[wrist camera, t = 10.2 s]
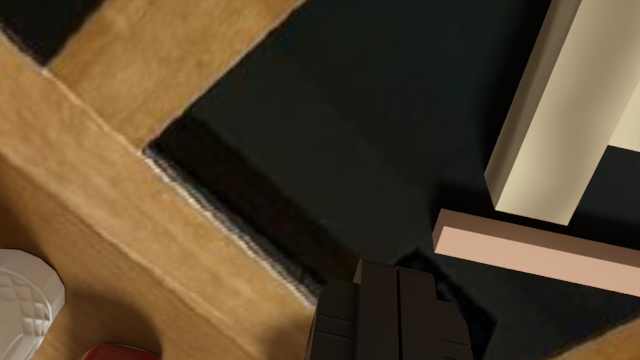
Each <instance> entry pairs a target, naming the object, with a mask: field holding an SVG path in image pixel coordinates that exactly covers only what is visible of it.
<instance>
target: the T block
mask: <svg viewBox="0 0 640 360" xmlns="http://www.w3.org/2000/svg"><path fill="white" fill-rule="evenodd" d="M607 145H612V146H617V147H621V148H626V149H630V150H635V151H639V152H640V0H552V2H551V4H550V7H549V9H548V12H547V14H546V17H545V20H544V22H543V25H542V27H541V30H540V32H539V35H538V37H537V40H536V43H535V45H534V48H533V50H532V53H531V55H530V58H529V61H528V63H527V66H526V68H525V71H524V73H523V76H522V79H521V81H520V84H519V86H518V89H517V91H516V94H515V97H514V99H513V102H512V104H511V107H510V109H509V112H508V115H507V117H506V120H505V122H504V125H503V127H502V130H501V133H500V135H499V138H498V140H497V143H496V145H495V148H494V151H493V153H492V156H491V158H490V161H489V163H488V166H487V168H486V171H485V174H484V176H485V179H486V182H487V186H488V189H489V192H490V195H491V198H492V201H493V205H494V208H495V210H499V211H503V212H508V213H512V214H517V215H521V216H526V217H530V218H535V219H540V220H544V221H549V222H553V223H558V224H562V225H568V223H569V221H570V219H571V217H572V215H573V213H574V211H575V209H576V207H577V205H578V203H579V201H580V199H581V197H582V195H583V193H584V191H585V189H586V187H587V185H588V183H589V181H590V179H591V177H592V175H593V173H594V171H595V169H596V167H597V165H598V163H599V161H600V159H601V157H602V155H603V153H604V151H605V149H606V147H607Z"/></svg>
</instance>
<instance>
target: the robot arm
mask: <svg viewBox="0 0 640 360" xmlns="http://www.w3.org/2000/svg"><path fill="white" fill-rule="evenodd" d="M470 346H471V344H470V339H469V333H468V327H467V323H466V322H465V320H464V319H463V317H462V316H461V314H460V313H459V311H458V310H457V308H456V307H455V305H454V304H453V303H448V302H443V301H439V300H436V292H435V283H434V277H433V274H431V273H426V272H422V271H417V270H412V269H407V268H403V267H395V266H393V265H388V264H383V263H379V262H374V261H369V260H364V259H360V261H359V264H358V267H357V271H356V274H355V278H354V281H353V282H348V281H344V280H339V279H334V278H332V279H331V280H330V281H329V282H328V283H327V285H326V286H325V287H324V288H323V289H322V291H321V292H320V293H319V297H318V301H317V305H316V309H315V313H314V317H313V321H312V325H311V329H310V333H309V337H308V341H307V345H306V351H305V358H304V360H473V355H472V350H471V349H470Z"/></svg>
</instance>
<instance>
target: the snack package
mask: <svg viewBox="0 0 640 360" xmlns="http://www.w3.org/2000/svg"><path fill="white" fill-rule="evenodd" d="M81 360H162V359H161V358H159V357H158V356H156V355H154V354H152V353H150V352H148V351H145V350H143V349H139V348H135V347H131V346H127V345H122V344H114V343H102V344H99V345H97V346H94V347H92V348H91V349H89V350H88V351H87V352H86V353H85V354H84V355H83V357H82V358H81Z"/></svg>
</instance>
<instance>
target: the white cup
mask: <svg viewBox="0 0 640 360" xmlns="http://www.w3.org/2000/svg"><path fill="white" fill-rule="evenodd" d="M64 303H65V288H64V285H63V284H62V282H61V280H60V278H59V277H58V275H57V273H56V272H55V271H54V270H53V269H52V268H51V267H50V266H49V265H47V264H46V263H45V262H44V261H43V260H41V259H40V258H38V257H36V256H33V255H31V254H29V253H26V252H24V251H21V250H14V249H0V360H31V358H32V357H33V355H34V354H35V352H36V351H37V349H38V348H39V346H40V344H41V342H42V340H43V339H44V337H45V336H46V333H47V330H48V328H49V327H50V325H51V323H52V322H53V320H54V319H55V317H56V316H57V314H58V313H59V311H60V310H61V308H62V307H63V305H64Z"/></svg>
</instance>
